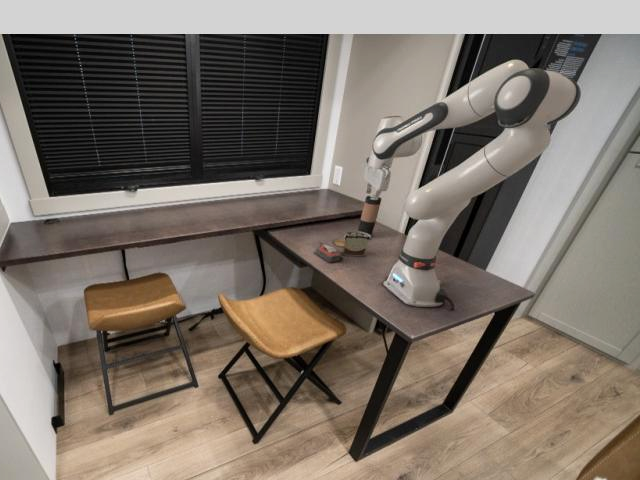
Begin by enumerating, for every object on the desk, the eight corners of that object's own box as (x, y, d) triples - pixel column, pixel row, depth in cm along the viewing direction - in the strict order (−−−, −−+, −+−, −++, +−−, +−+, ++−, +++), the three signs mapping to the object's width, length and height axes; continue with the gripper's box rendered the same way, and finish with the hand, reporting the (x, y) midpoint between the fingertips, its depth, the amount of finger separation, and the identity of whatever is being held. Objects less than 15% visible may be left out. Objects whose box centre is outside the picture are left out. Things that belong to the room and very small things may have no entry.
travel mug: (366, 239, 162) (376, 200, 151) (353, 234, 168) (362, 197, 156) (374, 236, 166) (384, 198, 155) (362, 231, 171) (371, 194, 160)
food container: (363, 250, 150) (369, 231, 145) (366, 256, 145) (372, 236, 140) (338, 249, 151) (342, 229, 146) (340, 254, 146) (344, 234, 141)
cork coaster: (354, 247, 154) (355, 246, 153) (337, 247, 153) (337, 246, 153) (349, 240, 161) (349, 239, 161) (331, 239, 161) (332, 239, 161)
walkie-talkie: (346, 261, 141) (320, 244, 156) (348, 252, 138) (322, 236, 153) (330, 264, 138) (306, 246, 153) (332, 255, 135) (307, 238, 150)
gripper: (398, 167, 117) (387, 203, 125) (379, 157, 134) (371, 190, 142) (381, 167, 117) (371, 203, 125) (365, 157, 134) (357, 189, 142)
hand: (371, 196), depth 134 cm, fingers open, 8 cm apart
